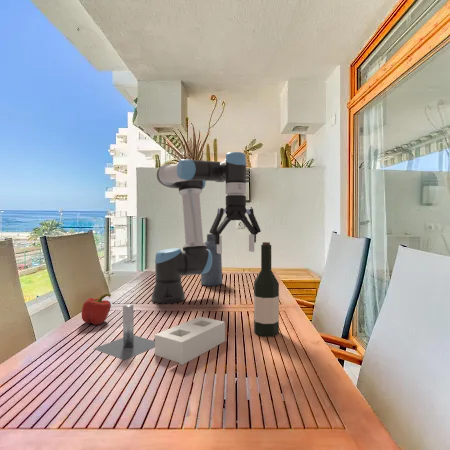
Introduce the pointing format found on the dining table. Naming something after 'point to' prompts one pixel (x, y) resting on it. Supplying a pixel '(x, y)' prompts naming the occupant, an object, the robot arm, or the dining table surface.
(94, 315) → the vegetable
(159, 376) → the dining table surface
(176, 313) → the dining table surface
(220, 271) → the blue-grey bottle
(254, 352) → the dining table surface
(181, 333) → the block
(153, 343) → the mat
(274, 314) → the wine bottle
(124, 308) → the peg
